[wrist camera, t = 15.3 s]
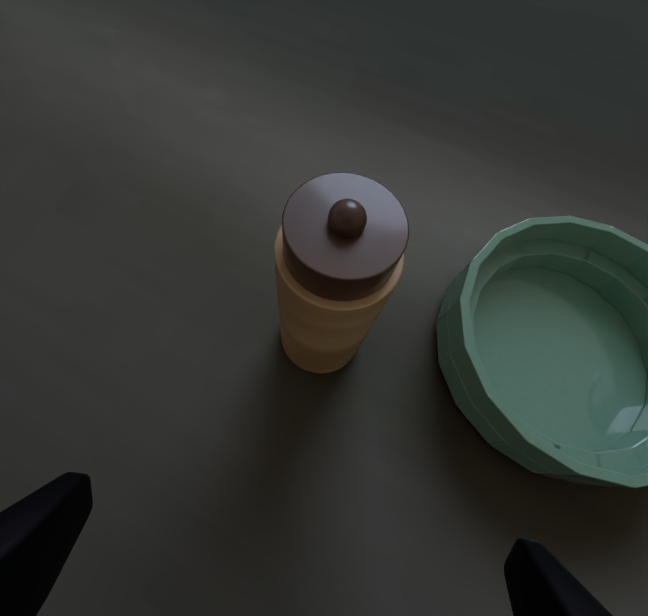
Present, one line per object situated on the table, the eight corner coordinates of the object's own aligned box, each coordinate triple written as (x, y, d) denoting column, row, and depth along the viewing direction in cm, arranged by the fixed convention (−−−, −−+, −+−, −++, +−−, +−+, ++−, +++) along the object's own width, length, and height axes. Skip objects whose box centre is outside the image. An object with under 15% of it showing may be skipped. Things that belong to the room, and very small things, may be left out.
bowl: (707, 462, 21) (796, 462, 17) (466, 499, 19) (508, 508, 16) (607, 245, 26) (659, 210, 22) (410, 259, 24) (431, 223, 21)
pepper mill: (373, 354, 22) (456, 245, 11) (299, 386, 21) (308, 301, 10) (339, 288, 23) (383, 131, 12) (269, 314, 22) (247, 169, 11)
